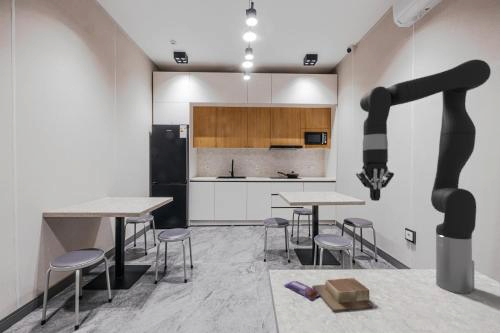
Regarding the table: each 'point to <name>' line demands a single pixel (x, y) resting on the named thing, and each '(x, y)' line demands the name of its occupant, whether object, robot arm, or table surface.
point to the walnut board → (343, 305)
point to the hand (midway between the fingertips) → (375, 200)
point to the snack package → (302, 289)
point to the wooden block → (346, 290)
